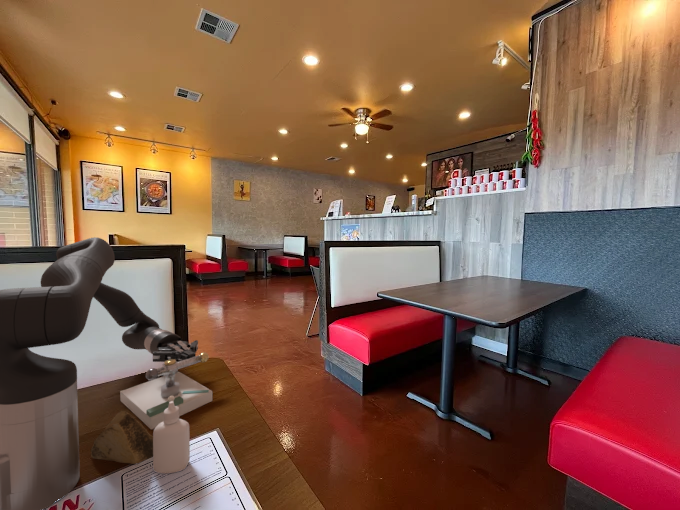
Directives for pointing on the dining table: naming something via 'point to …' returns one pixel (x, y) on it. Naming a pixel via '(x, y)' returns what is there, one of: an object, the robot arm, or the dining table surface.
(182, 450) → the eye dropper bottle
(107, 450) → the rock
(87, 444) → the dining table surface
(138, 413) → the stand
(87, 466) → the dining table surface
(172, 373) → the crank handle
